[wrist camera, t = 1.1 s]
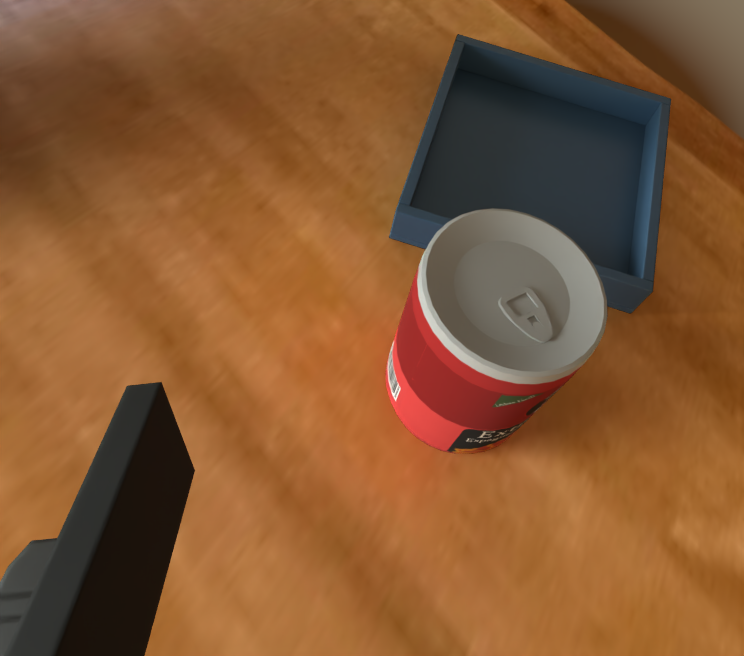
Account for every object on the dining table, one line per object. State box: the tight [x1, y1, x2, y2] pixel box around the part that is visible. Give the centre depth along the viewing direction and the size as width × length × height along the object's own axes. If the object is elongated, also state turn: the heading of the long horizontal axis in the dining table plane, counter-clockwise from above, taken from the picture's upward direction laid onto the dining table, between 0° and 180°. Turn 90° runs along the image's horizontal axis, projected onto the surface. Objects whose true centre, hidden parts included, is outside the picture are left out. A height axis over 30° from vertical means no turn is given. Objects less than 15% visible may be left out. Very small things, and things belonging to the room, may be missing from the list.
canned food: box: [386, 208, 607, 454], centre depth 31 cm, size 8×8×11 cm
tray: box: [389, 34, 671, 313], centre depth 42 cm, size 16×15×3 cm
